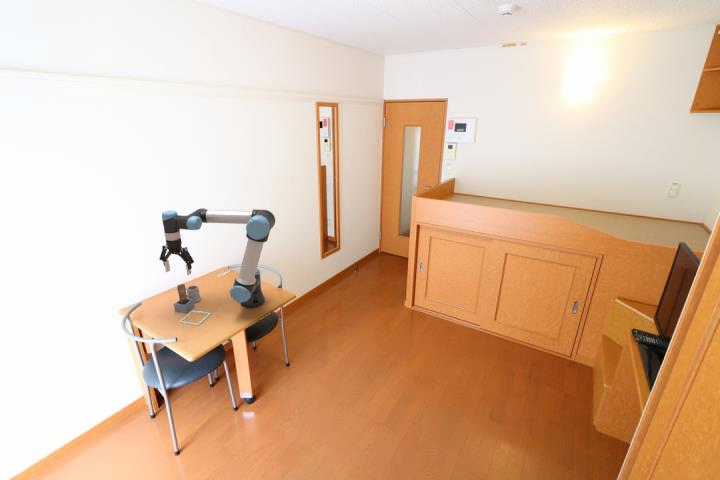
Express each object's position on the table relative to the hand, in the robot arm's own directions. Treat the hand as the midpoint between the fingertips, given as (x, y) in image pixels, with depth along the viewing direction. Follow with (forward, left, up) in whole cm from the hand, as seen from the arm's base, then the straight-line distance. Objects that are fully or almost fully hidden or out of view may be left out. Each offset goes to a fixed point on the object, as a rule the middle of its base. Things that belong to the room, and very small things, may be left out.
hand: (178, 272), depth 192 cm
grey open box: (0, 0, -25) cm, 25 cm away
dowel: (0, 0, -24) cm, 24 cm away
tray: (-12, +7, -25) cm, 29 cm away
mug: (+3, -10, -25) cm, 27 cm away
